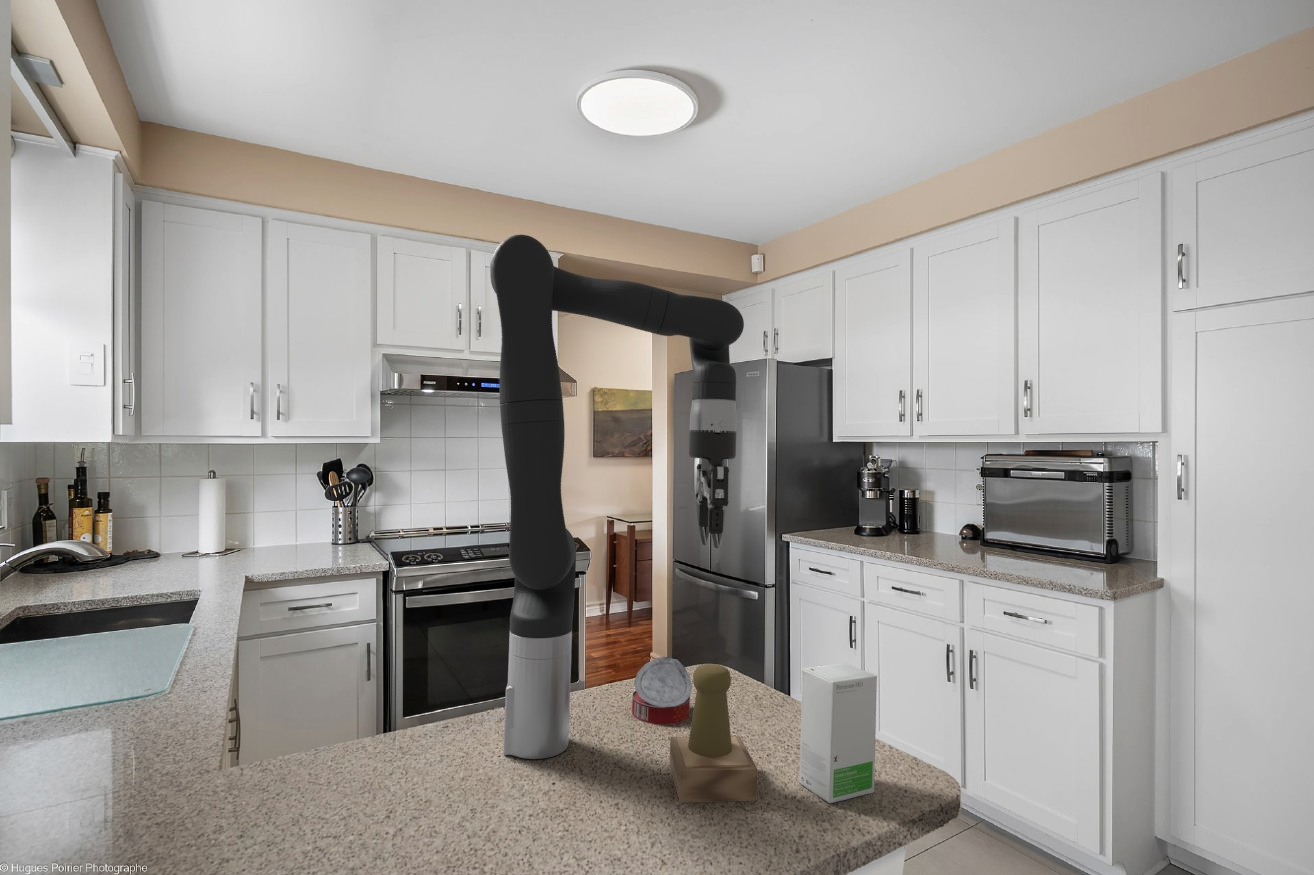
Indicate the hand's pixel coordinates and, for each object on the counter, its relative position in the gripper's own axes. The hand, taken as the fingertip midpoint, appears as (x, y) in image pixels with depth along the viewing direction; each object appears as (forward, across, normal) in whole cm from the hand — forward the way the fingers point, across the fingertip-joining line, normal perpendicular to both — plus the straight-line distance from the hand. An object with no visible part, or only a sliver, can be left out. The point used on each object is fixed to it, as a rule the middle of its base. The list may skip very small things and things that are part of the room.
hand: (710, 530), depth 107 cm
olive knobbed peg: (+28, +15, -2) cm, 32 cm away
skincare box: (+32, +18, +15) cm, 40 cm away
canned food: (+32, -8, -6) cm, 34 cm away
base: (+32, +16, -2) cm, 36 cm away
